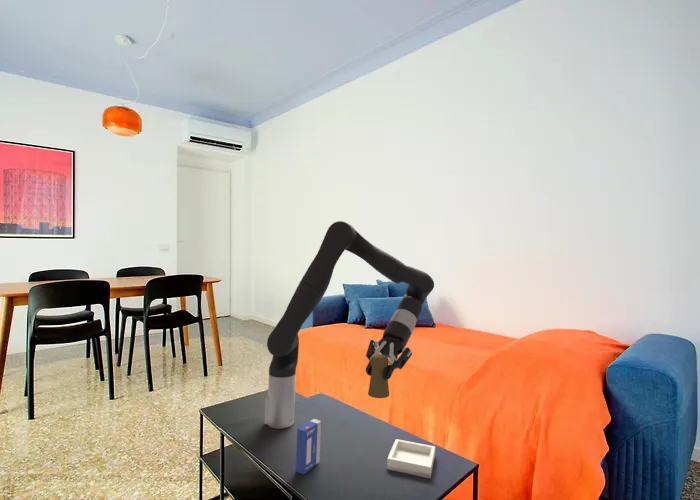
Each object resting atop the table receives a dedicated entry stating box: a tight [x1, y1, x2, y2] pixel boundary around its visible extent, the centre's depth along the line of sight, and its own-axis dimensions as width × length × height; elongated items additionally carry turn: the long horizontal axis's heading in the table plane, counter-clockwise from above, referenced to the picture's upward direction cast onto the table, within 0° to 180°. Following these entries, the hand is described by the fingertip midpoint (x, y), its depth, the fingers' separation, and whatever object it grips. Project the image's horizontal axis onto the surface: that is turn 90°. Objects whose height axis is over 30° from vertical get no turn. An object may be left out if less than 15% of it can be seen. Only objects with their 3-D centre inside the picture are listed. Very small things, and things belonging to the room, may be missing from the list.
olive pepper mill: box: [367, 353, 390, 399], centre depth 107 cm, size 6×6×11 cm
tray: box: [386, 438, 436, 479], centre depth 110 cm, size 12×12×3 cm
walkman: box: [295, 418, 322, 475], centre depth 106 cm, size 8×3×12 cm, turn 150°
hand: (376, 376), depth 106 cm, fingers closed on olive pepper mill, 5 cm apart
